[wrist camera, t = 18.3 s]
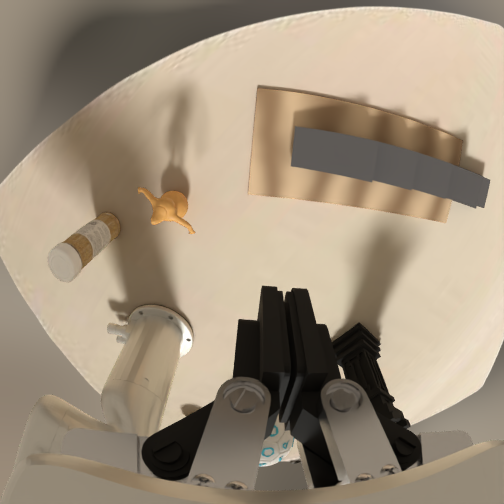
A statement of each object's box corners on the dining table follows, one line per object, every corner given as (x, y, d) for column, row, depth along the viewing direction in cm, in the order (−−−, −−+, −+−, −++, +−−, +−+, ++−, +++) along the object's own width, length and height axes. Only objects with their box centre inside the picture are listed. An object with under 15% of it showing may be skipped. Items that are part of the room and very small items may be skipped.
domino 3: (380, 180, 32) (445, 199, 29) (386, 143, 30) (452, 164, 27) (378, 178, 33) (441, 196, 31) (384, 143, 31) (448, 162, 29)
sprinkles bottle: (97, 236, 39) (49, 279, 26) (97, 209, 37) (43, 246, 24) (121, 241, 39) (76, 287, 27) (121, 213, 37) (71, 253, 25)
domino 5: (446, 196, 32) (483, 208, 32) (452, 164, 30) (490, 180, 30) (439, 193, 33) (477, 204, 34) (445, 162, 31) (483, 177, 31)
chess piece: (359, 322, 45) (395, 415, 27) (379, 341, 47) (413, 425, 29) (325, 347, 47) (345, 441, 29) (347, 363, 50) (370, 448, 32)
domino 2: (336, 172, 32) (411, 190, 29) (342, 133, 29) (418, 152, 27) (337, 171, 33) (408, 188, 31) (342, 134, 31) (414, 151, 29)
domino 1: (290, 166, 32) (372, 182, 29) (295, 126, 29) (378, 141, 27) (293, 165, 33) (370, 180, 31) (297, 126, 31) (377, 141, 28)
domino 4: (419, 189, 32) (475, 208, 29) (425, 155, 30) (482, 176, 27) (417, 187, 33) (471, 205, 30) (423, 155, 31) (478, 174, 28)
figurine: (146, 194, 36) (105, 224, 25) (171, 160, 34) (132, 177, 23) (192, 230, 38) (166, 273, 27) (218, 198, 36) (200, 232, 25)
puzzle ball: (302, 413, 58) (307, 465, 45) (253, 429, 62) (252, 476, 49) (269, 388, 53) (270, 448, 40) (216, 406, 57) (209, 460, 44)
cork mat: (248, 193, 35) (248, 194, 35) (257, 88, 29) (257, 88, 29) (444, 222, 36) (445, 223, 35) (461, 140, 30) (462, 140, 29)
